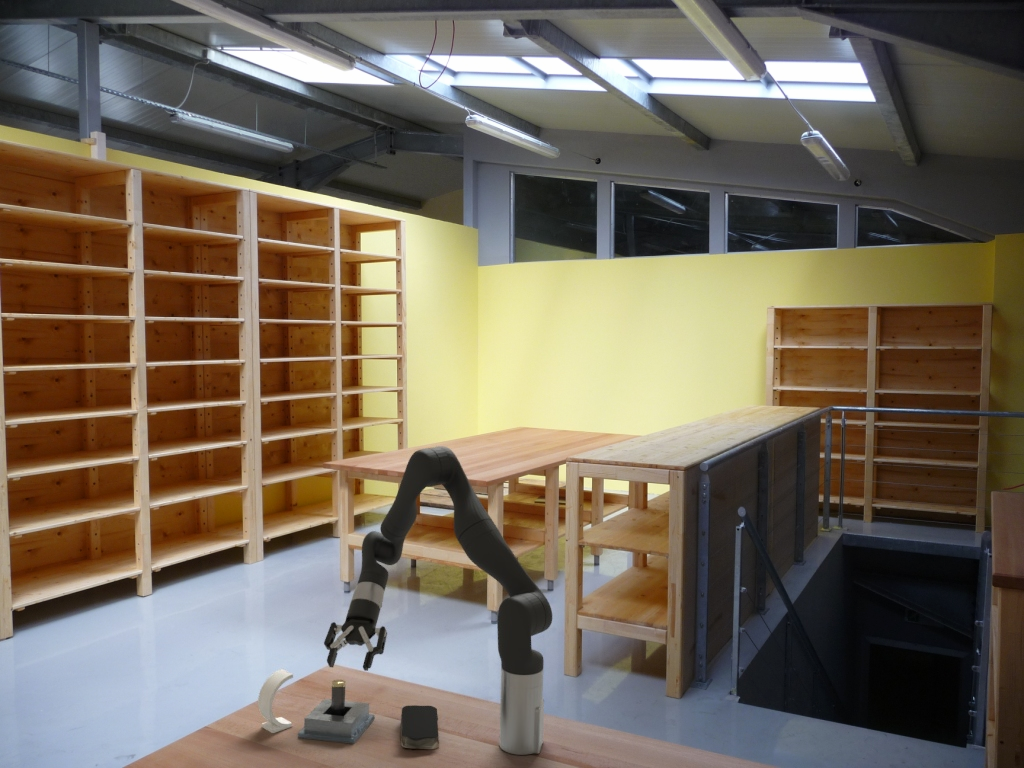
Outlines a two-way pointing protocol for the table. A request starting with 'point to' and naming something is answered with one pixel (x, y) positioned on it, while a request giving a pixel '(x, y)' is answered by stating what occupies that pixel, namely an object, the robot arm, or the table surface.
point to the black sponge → (419, 727)
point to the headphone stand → (267, 700)
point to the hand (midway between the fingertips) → (347, 667)
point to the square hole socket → (337, 722)
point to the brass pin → (338, 698)
